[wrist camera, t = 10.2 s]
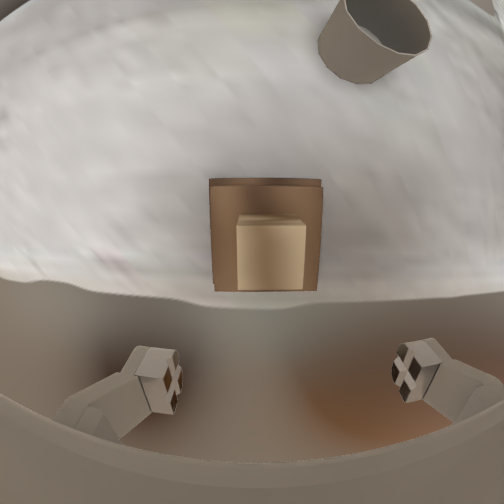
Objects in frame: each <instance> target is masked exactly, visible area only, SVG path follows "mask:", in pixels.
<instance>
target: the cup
mask: <svg viewBox="0 0 504 504" xmlns="http://www.w3.org/2000/svg"><path fill="white" fill-rule="evenodd" d="M431 39H432V35H431V31H430V27H429V24H428V21H427V19H426V18H425V16H424V15H423V13H422V12H421V10H420V9H419V8H418V6H417V5H416V4H415V3H414V2H413V1H411V0H340V1H339V3H338V5H337V6H336V8H335V10H334V12H333V13H332V15H331V17H330V19H329V20H328V22H327V24H326V26H325V28H324V29H323V31H322V33H321V35H320V37H319V39H318V50H319V55H320V56H321V58H322V60H323V61H324V63H325V65H326V66H327V68H329V69H330V70H331V71H332V72H334V73H335V74H336V75H337V76H338V77H340V78H341V79H344V80H347V81H350V82H353V83H355V84H368V83H372V82H374V81H376V80H377V79H379V78H381V77H382V76H384V75H385V74H387V73H389V72H390V71H392V70H394V69H395V68H397V67H399V66H400V65H402V64H404V63H405V62H407V61H409V60H410V59H412V58H414V57H416V56H417V55H419V54H421V53H423V52H425V51H426V50H428V48H429V45H430V42H431Z"/></svg>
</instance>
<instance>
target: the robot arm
mask: <svg viewBox="0 0 504 504" xmlns="http://www.w3.org/2000/svg"><path fill="white" fill-rule="evenodd" d="M397 354H398V357H397V359H395V360H394V362H393V365H392V368H391V369H392V370H391V371H392V372H391V375H392V379H393V381H394V383H395V384H396V385H398V386H399V387H400V389H399V393H400V395H401V396H402V398H403V400H404V402H405V403H407V402H412V401H416V400H420V399H423V401H425V402H426V403H427V404H429V405H430V406H432V407H433V408H434V409H436V410H437V411H438V412H440V413H441V414H443V415H444V416H445V417H447V418H448V419H449V420H451V421H452V422H454V423H453V424H452V425H451V426H448V427H446V428H443V429H441V430H438V431H436V432H433V433H430V434H427V435H425V436H421V437H418V438H415V439H412V440H409V441H405V442H402V443H398V444H395V445H391V446H387V447H383V448H379V449H375V450H370V451H366V452H361V453H356V454H350V455H344V456H338V457H332V458H324V459H315V460H305V461H291V462H265V463H263V462H262V463H261V462H257V463H255V462H226V461H212V460H202V459H193V458H185V457H178V456H172V455H166V454H161V453H155V452H151V451H146V450H141V449H137V448H133V447H129V446H125V445H122V443H121V441H120V440H119V439H120V438H122V437H123V436H124V435H125V434H127V433H128V432H129V431H130V430H131V429H133V428H134V427H135V426H136V425H137V424H139V423H140V422H141V421H142V420H143V419H145V418H146V417H147V416H148V415H149V414H151V412H157V413H165V414H174V412H175V409H176V406H177V403H178V400H177V396H176V395H178V394H179V393H180V392H181V389H182V384H183V373H182V368H181V367H180V366H179V365H178V362H179V359H180V358H179V354H178V351H176V350H170V349H162V348H153V347H144V346H137V347H135V349H134V350H133V352H132V354H131V356H130V357H129V359H128V360H127V362H126V364H125V366H124V367H123V369H122V371H121V372H120V373H115V374H113V375H111V376H109V377H107V378H105V379H103V380H101V381H99V382H97V383H95V384H93V385H91V386H89V387H87V388H86V389H84V390H82V391H80V392H78V393H76V394H74V395H72V396H70V397H68V398H67V399H66V400H65V402H64V403H63V405H62V406H61V408H60V409H59V411H58V413H57V414H56V415H55V417H54V418H53V420H51V419H48V418H46V417H44V416H42V415H40V414H38V413H35V412H33V411H31V410H29V409H27V408H26V407H24V406H22V405H20V404H18V403H16V402H14V401H13V400H11V399H9V398H7V397H6V396H4V395H2V394H1V393H0V504H504V386H503V384H502V383H501V382H500V381H499V379H498V378H496V377H494V376H491V375H489V374H487V373H484V372H482V371H480V370H478V369H475V368H473V367H471V366H469V365H466V364H464V363H462V362H460V361H457V360H452V359H451V357H450V356H449V355H448V354H447V353H446V352H445V350H444V349H443V348H442V347H441V346H440V344H439V343H438V342H437V341H436V340H435V339H434V338H429V339H424V340H420V341H414V342H408V343H402V344H400V346H399V347H398V350H397Z"/></svg>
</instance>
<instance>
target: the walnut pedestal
mask: <svg viewBox="0 0 504 504" xmlns="http://www.w3.org/2000/svg"><path fill="white" fill-rule="evenodd" d="M209 198H210V228H211V250H212V269H213V284H214V287H215V291H223V292H269V291H317V282H318V270H319V258H320V243H321V227H322V205H323V187H321V180H320V179H297V178H217V179H209ZM240 214H296V215H297V216H298V217H299V218H300V219H301V221H302V222H303V223H304V224H305V225H306V242H305V261H304V276H303V289H297V290H238V278H237V232H236V225H237V222H238V218H239V215H240Z"/></svg>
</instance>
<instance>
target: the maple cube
mask: <svg viewBox="0 0 504 504" xmlns="http://www.w3.org/2000/svg"><path fill="white" fill-rule="evenodd" d="M236 232H237V278H238V290H297V289H303V276H304V261H305V242H306V225H305V224H304V223H303V222H302V221H301V219H300V218H299V217H298V216H297V215H296V214H240V215H239V218H238V222H237V225H236Z"/></svg>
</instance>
